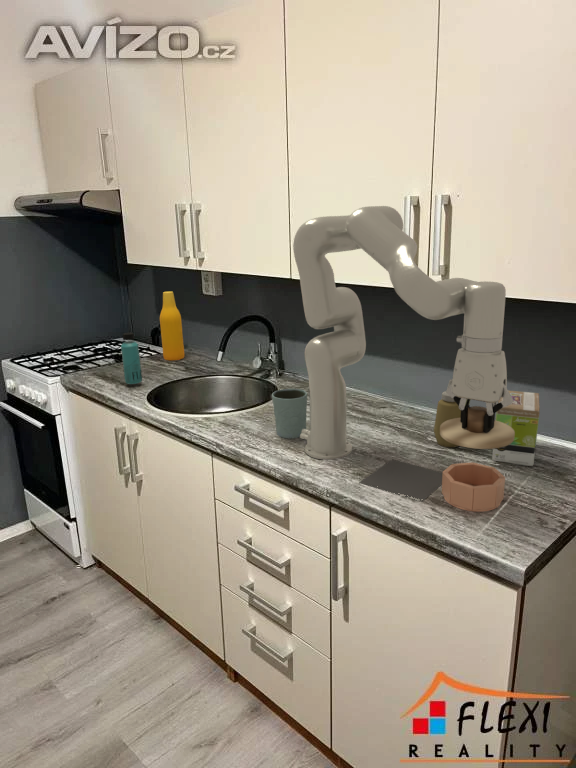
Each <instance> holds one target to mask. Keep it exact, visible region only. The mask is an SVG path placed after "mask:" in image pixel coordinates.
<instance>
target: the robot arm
mask: <svg viewBox="0 0 576 768" xmlns="http://www.w3.org/2000/svg"><path fill="white" fill-rule="evenodd" d="M403 230H404V220H403V217H402V215H401V214H400V213H399V211H398V210H397V209H396V208H393V207H391V206H388V205H375V206H363V207H359V208H357V209H355V210H354V211H353V212H351V214H348V215H337V216H336V215H333V216H332V215H331V216H330V215H329V216H319V217H313V218H310V219H308V220H306V221H305V222H303V223H302V224H301V225H300V226H299V227H298V229H297V231H296V233H295V235H294V238H293V244H292V249H293V256H294V260H295V263H296V267H297V271H298V276H299V282H300V283H299V284H300V290H301V296H302V298H301V299H302V305H303V311H304V316H305V321H306V323H307V325H309V327H311V328H313V329H314V330H324V329H328V328H333V331H331V332H326V333H323V334H319V335H316V336H314V337H313V338H312V339H310V340H309V341H308V343H306V345H305V349H304V361H305V365H306V370H307V376H308V391H309V393H308V395H309V396H308V397H309V428H310V429H308V428H306V429H303V430H302V433H301V434H300V437H299V438H300V439H303V440H306V442H307V443H306V444H305V446H304V452H305V453H306V455H307V456H309V457H311V458H314V459H316V460H317V459H318V460H336V459H340V458H345V457H346V456H347V457H348V456H349V455H351V454H352V452H353V445H352V444H351V443H350V442H349V441H347V385H346V382H345V379H344V377H343V375H342V372H341V369H342V368H345V367H348V366H351V365H354V364H356V363H358V362H359V361H360V362H361V360H362V359H363V358H364V356H365V353H366V348H367V341H366V331H365V325H364V317H363V310H362V309H363V307H362V304H361V301H360V299H359V297H358V295H357V293H356V292H355V291H354V290H352V289H351V288H349V287H345V286H338V287H336V282H335V273H334V268H333V267H332V265H331V263H330V261H329V260H328V259H327V257H326V255H327V254H331V253H333V254H334V253H343V252H350V251H351V252H352V251H355V250H362V251H364V252H365V253H366V254H367V255H368V256H369V257H371V258H372V259H373V260H374V261H375V262H376V263H378V264H379V266H381V267H382V268H383V269H384V270H386V271H387V273H388V275H389V280H390V283H391V284H392V287H393V289H394V291H395V293H396V294H397V295H398V297H400V299H401V300H402V301H403V302H404V303H406V304H407V306H409V307H410V308H411V309H412V310H413V311H415V312H416V313H417V314H418V315H420V316H422V317H423V318H425V319H428V320H432V321H433V320H434V321H438V320H443V319H446V318H449V317H453V316H457V315H461V314H464V316H463V329H462V330H463V334H461V335H457V336H456V343H459V344H461V348H459V349H458V350H457V353H456V356H455V357H456V358H455V361H454V367H453V373H452V379H451V380H452V384H451V385H450V387H449V388H448V389H447V388H446V390H445V391H446V393H447V394H448V395H449V396H450V397H452V398H453V399H454V401H455V402H456V403H457V405H458V406H459V409H460V410H461V419H460V422H461V423H462V428H464V429H465V428H467V417H468V408H469V407H471V406H470V403H471V401H472V400H473V401H478V402H483V403H485V406H486V407H485V408H487V414H485V415H484V427H483V432H484V433H488V432H489V431H490V430H491V429H493V428H494V422H495V420H496V412H497V411H498V410H500V409H501V408H504V407H506V406H509V405H511V404H512V403H513V402H514V400H513V398H512V397H511V395H510V393H509V391H510V390H509V389H508V388H507V383H508V381H507V380H508V379H507V377H508V375H507V374H508V372H507V360H506V353H505V351H504V350H502V349H503V332H504V321H505V319H504V318H505V307H506V295H507V293H506V291H507V290H506V287H505V285H504V284H503V283H502V282H496V281H485V280H484V281H476V280H471V279H467V278H461V277H452V278H448V279H447V278H446V279H441V280H436V281H435V280H434V279H432V278H431V277H430V276H429V275H428V274H427V273H425V271H423V270H422V269H421V268H420V267H419V266H418V265H417V264H416V262H415V260H414V259H415V256H416V255H417V252H418V244H417V242H416V240H415V239H414V238H412V237H411V236H409V235H408V233H406V232H404V231H403ZM501 397H503V401H501V402H499V403H498V401H499V400H500V399H501Z"/></svg>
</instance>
